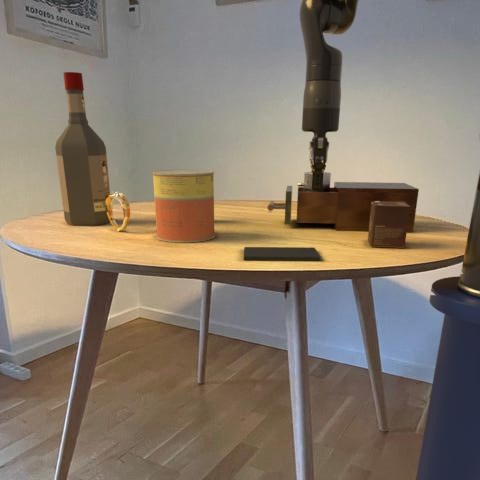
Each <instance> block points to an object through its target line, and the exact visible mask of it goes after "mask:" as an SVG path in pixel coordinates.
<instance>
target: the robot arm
mask: <svg viewBox="0 0 480 480" xmlns="http://www.w3.org/2000/svg"><path fill="white" fill-rule="evenodd" d="M358 5H359V0H301V3H300V6H299V7H300V8H299V22H300V29H301V33H302V38H303V44H304V51H305V57H306V65H305V66H306V67H305V83H304V85H305V86H304V90H303V97H302V98H303V100H302V116H301V117H302V120H301V131H302V132H303V133H305V132H306V133H307V132H308V133H313V137H312V139H311V140H310V141H309V145H308V150H309V162H310V169H311V171H310V172H313V175H312V190H313V191H321V190H322V188H323V174H324V172H325V171H326V168H327V165H326V163H328V152H329V148H330V141H328V137H327V133H336V132H338V131H339V126H340V114H341V100H342V83H341V82H342V71H343V52H342V51H341V50H340V48H337V47H335V46H332V45H330V44H329V43H327V42H326V39H325V35H334V36H340V35H344V34H345V33H347V32H348V31H349V30H350V29H351V27H352V26H353V24H354V21H355V20H356V16H357V11H358ZM478 138H479V140H480V135H479V137H478ZM466 237H467V238H466V243H465V247H464V248H465V249H464V253H463V258H462V259H463V260H462V265H461V273H460V274H459V276H460V280H459V283H458V289H459V290H460V291H461V292H462V293H464V294H467V295H469V296H472V297H476V298H479V299H480V170H479V172H478V177H477V181H476V189H475V193H474V199H473V205H472V210H471V215H470V221H469V226H468V232H467V236H466Z"/></svg>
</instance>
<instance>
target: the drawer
mask: <svg viewBox="0 0 480 480" xmlns="http://www.w3.org/2000/svg"><path fill="white" fill-rule="evenodd" d="M338 192H339V191H338V190H337V189H336V188H334V186H333V187H331V186H330V192H304V186H303V187H299V186H297V198H296V199H297V201H296V203H297V204H296V223H298V224H301V223H302V224H333V223H335V224H336V217H337V204H338ZM292 200H293V185H287V186H286V190H285V202H275V201H273V200H270V201H269V202H268V205H267V210H268V211H269V212H272V211H273V210H284V225H291V222H292V221H291V220H292V205H293V203H292V202H293V201H292Z"/></svg>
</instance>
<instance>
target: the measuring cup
mask: <svg viewBox="0 0 480 480" xmlns="http://www.w3.org/2000/svg"><path fill="white" fill-rule="evenodd" d="M312 175H313V172H311V171H305V172H304V173H303V182H298V183H297V184H296V185H297V187H304V192H330V187H331V177H332V173H331V172H329V171H328V172H327V171H324V174H323V188H322V190H321V191H313V190H312Z"/></svg>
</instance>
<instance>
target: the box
mask: <svg viewBox="0 0 480 480" xmlns="http://www.w3.org/2000/svg"><path fill="white" fill-rule="evenodd" d="M409 209H410V206H409V205H408V204H407V203H405V202H390V201H373V202H371V212H370V222H369V231H368V234H367V242H368V244H369V246H370V247H371V248H398V249H399V248H400V249H403V248H405V247H406V240H407V233H408V232H407V225H408V217H409Z"/></svg>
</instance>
